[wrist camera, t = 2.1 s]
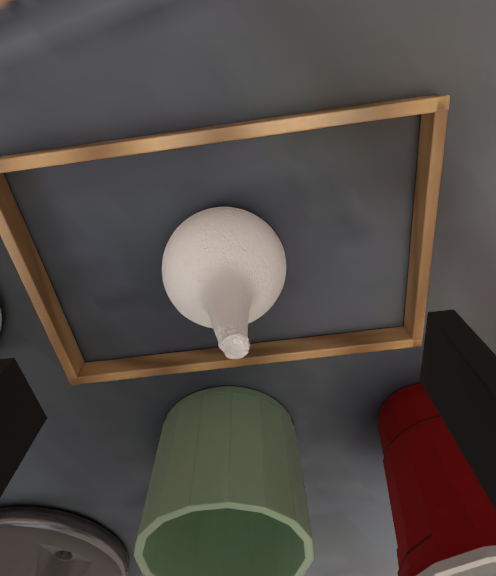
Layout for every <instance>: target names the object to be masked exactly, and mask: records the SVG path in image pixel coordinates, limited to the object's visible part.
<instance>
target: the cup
mask: <svg viewBox="0 0 496 576" xmlns="http://www.w3.org/2000/svg"><path fill="white" fill-rule="evenodd" d="M133 556H134V558H135V560H136V562H137V564H138V566H139V568H140V570H141V572H142V573H143V574H144V575H145V576H303V575H304V573H305V572H306V570H307V569H308V567H309V566H310V564H311V563H312V561H313V560H314V550H313V539H312V532H311V526H310V520H309V513H308V507H307V500H306V494H305V488H304V481H303V475H302V469H301V462H300V456H299V449H298V443H297V437H296V430H295V426H294V423H293V421H292V418H291V416H290V415H289V413H288V412H287V410H286V409H285V408H284V407H283V406H282V405H281V404H280V403H279V402H278V401H276V400H275V399H273V398H272V397H270V396H268V395H266V394H264V393H262V392H259V391H256V390H253V389H249V388H244V387H236V386H222V387H213V388H208V389H204V390H200V391H198V392H195V393H192V394H190V395H189V396H187V397H185V398H183V399H182V400H181V401H179V402H178V403H177V404H176V405H175V406H174V407H173V408H172V409H171V410H170V411H169V413H168V414H167V416H166V418H165V420H164V423H163V427H162V431H161V435H160V440H159V444H158V448H157V453H156V457H155V461H154V466H153V470H152V474H151V479H150V483H149V487H148V492H147V496H146V500H145V505H144V509H143V513H142V518H141V522H140V526H139V531H138V535H137V539H136V544H135V548H134V552H133Z"/></svg>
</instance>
